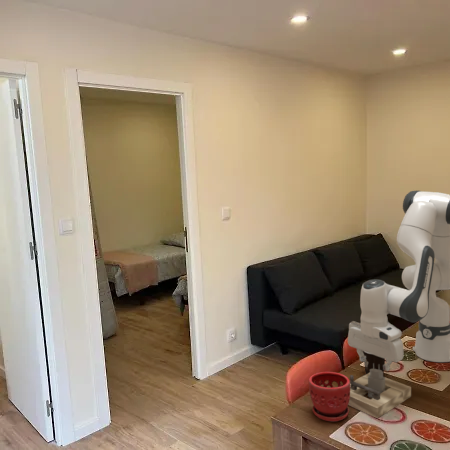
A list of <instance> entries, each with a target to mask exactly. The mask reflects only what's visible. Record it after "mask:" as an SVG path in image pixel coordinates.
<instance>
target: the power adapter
mask: <svg viewBox="0 0 450 450" xmlns="http://www.w3.org/2000/svg"><path fill="white" fill-rule="evenodd" d="M385 378H386V377H385V376H384V373H383V371H382V370H380V367H379V370H378V369H374V363H373V369H370V374H369V376H368V388H371V389H373V390H376V391H378V392H380V394H381V393H382V392H384V391H385ZM367 396H368V398H369V399H372V398H373V393H371V392H369V391H368V393H367Z"/></svg>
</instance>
